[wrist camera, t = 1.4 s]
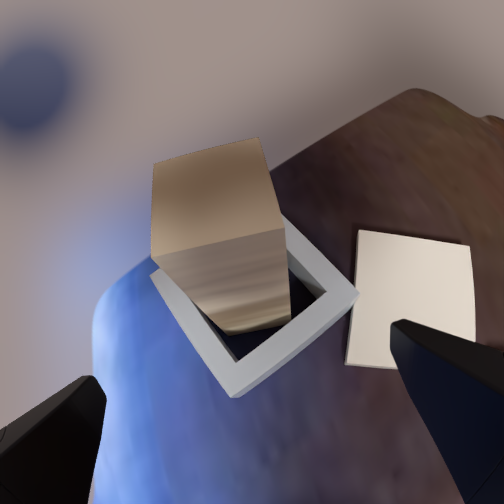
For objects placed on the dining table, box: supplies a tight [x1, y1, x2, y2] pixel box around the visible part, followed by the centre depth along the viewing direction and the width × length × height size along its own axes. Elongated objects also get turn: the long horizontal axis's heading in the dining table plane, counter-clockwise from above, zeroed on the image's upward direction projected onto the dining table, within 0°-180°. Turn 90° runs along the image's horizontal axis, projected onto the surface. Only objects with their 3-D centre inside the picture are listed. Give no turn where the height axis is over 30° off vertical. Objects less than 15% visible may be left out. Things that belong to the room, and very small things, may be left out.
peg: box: [151, 137, 291, 336], centre depth 16 cm, size 4×4×12 cm
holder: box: [150, 214, 360, 398], centre depth 20 cm, size 10×10×3 cm
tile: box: [344, 230, 475, 369], centre depth 19 cm, size 10×10×1 cm
